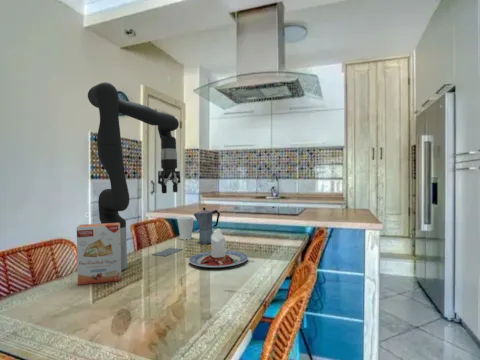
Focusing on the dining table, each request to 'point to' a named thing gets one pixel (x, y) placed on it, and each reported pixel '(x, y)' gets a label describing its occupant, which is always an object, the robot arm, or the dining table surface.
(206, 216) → the moka pot
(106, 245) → the cracker box
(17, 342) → the dining table surface
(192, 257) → the ceramic plate
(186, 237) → the foam cup
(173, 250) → the mat
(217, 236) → the white peaked cylinder
